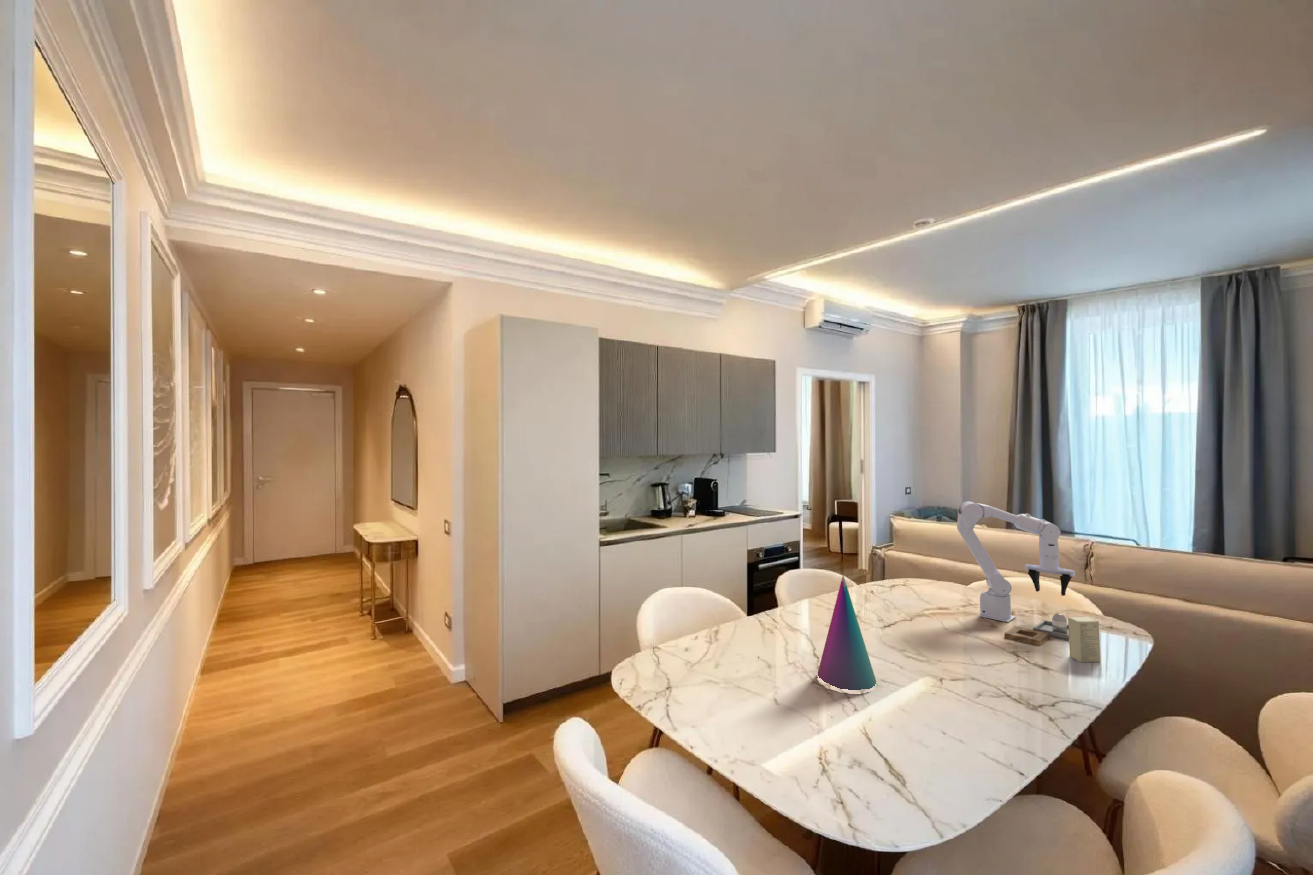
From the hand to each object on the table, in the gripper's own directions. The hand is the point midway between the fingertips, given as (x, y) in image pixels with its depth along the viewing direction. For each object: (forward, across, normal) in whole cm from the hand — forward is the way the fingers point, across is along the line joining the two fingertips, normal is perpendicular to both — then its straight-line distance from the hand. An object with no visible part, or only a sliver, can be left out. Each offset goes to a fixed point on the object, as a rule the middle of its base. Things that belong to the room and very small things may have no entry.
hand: (1050, 593), depth 192 cm
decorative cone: (+11, -24, -97) cm, 100 cm away
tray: (+10, +5, -11) cm, 16 cm away
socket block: (+10, -1, -24) cm, 26 cm away
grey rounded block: (+10, +5, -11) cm, 16 cm away
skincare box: (+11, +16, -32) cm, 37 cm away
